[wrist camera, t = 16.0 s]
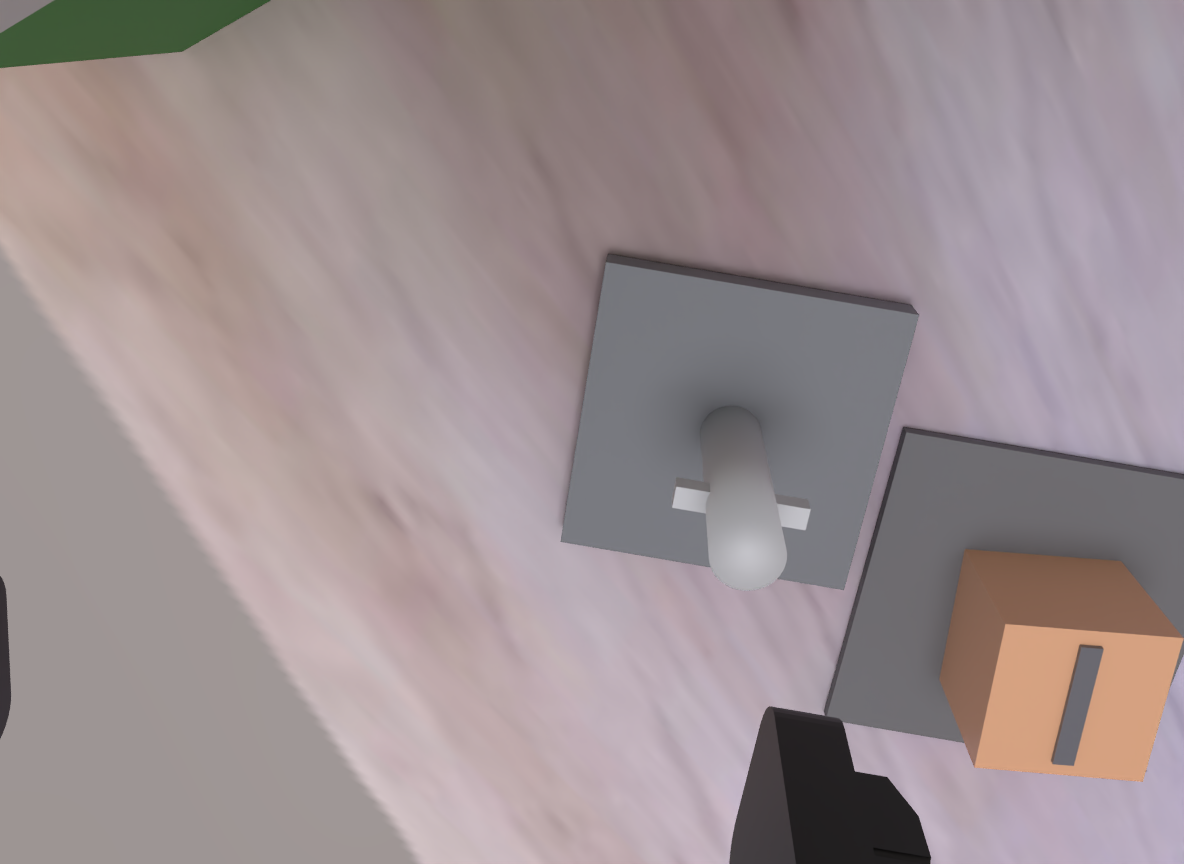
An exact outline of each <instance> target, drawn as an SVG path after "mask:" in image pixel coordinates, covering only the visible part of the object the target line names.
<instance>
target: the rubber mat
mask: <svg viewBox="0 0 1184 864" xmlns="http://www.w3.org/2000/svg"><path fill="white" fill-rule="evenodd" d="M965 549H970V550H983V551H996V552H1009V553H1022V554H1035V555H1049V556H1062V557H1075V558H1088V559H1101V560H1114V561H1121V562H1122V563H1123V564H1124V565H1125V567H1126V568H1127V569H1128V570H1129V572H1130V573H1131V574H1132V575H1133V576H1134V578H1135V579H1136V580H1137V581H1138V583H1139V584H1140V585H1141V586H1142V588H1143V589H1144V590H1145V591H1146V592H1147V594H1148V595H1149V596H1150V597H1151V599H1152V600H1153V601H1154V602H1155V604H1156V605H1157V606H1158V607H1159V608H1160V610H1161V611H1162V612H1163V613H1164V615H1165V616H1166V617H1167V618H1168V619H1169V621H1170V622H1171V623H1172V624H1173V626H1174V627H1175V628H1176V629H1177V631H1178V632H1179V633H1180V634H1181V635H1182V637H1183V638H1184V475H1183V474H1177V473H1171V472H1166V471H1160V470H1154V469H1148V468H1142V467H1136V466H1130V465H1124V464H1118V463H1112V462H1107V461H1101V460H1095V459H1089V458H1083V457H1077V456H1071V455H1065V454H1059V453H1053V452H1048V451H1042V450H1036V449H1030V448H1024V447H1018V446H1012V445H1006V444H1000V443H994V442H989V441H983V440H977V439H971V438H965V437H959V436H953V435H947V434H941V433H935V432H929V431H924V430H918V429H912V428H906V427H903V431H902V434H901V438H900V441H899V445H898V449H897V452H896V456H895V459H894V463H893V467H892V470H891V474H890V477H889V481H888V484H887V488H886V492H885V495H884V499H883V502H882V506H881V510H880V513H879V517H878V520H877V524H876V527H875V531H874V535H873V538H872V542H871V545H870V549H869V553H868V556H867V560H866V563H865V567H864V570H863V574H862V578H861V581H860V585H859V588H858V592H857V596H856V599H855V603H854V606H853V610H852V613H851V617H850V621H849V624H848V628H847V631H846V635H845V638H844V642H843V646H842V649H841V653H840V656H839V660H838V664H837V667H836V671H835V674H834V678H833V681H832V685H831V689H830V692H829V696H828V699H827V703H826V707H825V710H824V713H825V716H829V717H835V718H839V719H840V720H841V721H842V722H846V723H851V724H857V725H863V726H869V727H875V728H881V729H886V730H892V731H898V732H904V733H910V734H916V735H921V736H927V737H933V738H939V739H945V740H951V741H956V742H962V743H964V740H963V738H962V735H961V733H960V730H959V728H958V725H957V723H956V720H955V718H954V715H953V713H952V710H951V708H950V705H949V703H948V700H947V698H946V695H945V692H944V690H943V687H942V685H941V682H940V680H939V678H940V673H941V668H942V663H943V658H944V653H945V648H946V643H947V637H948V632H949V627H950V622H951V617H952V612H953V607H954V602H955V597H956V591H957V586H958V581H959V576H960V571H961V566H962V561H963V556H964V551H965ZM1183 655H1184V639H1183V642H1182V646H1181V649H1180V653H1179V656H1178V660H1177V663H1176V667H1175V670H1174V674H1173V677H1172V681H1173V679H1174V676H1175V674H1176V671H1177V669H1178V667H1179V664H1180V662H1181V659H1182V657H1183ZM1172 681H1171V683H1172ZM1170 686H1171V684H1170Z"/></svg>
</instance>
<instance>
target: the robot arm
mask: <svg viewBox="0 0 1184 864" xmlns="http://www.w3.org/2000/svg"><path fill="white" fill-rule="evenodd" d="M6 600H7V599H6V589H5V585H4V582H3V580H2V578H1V577H0V738H1V736H2V734H3V731H4V728H5V726H6V722H7V719H8V715H9V710H10V703H11V684H10V663H9V642H8V622H7V621H8V620H7V601H6ZM930 860H931V856H930V852H929V849H928V846H927V843H926V839H925V836H924V833H923V829H922V826H921V823H920V820H919V816H918V815H917V814H916V812H915V811H914V810H913V809H912V807H911V806H910V805H909V804H908V802H907V801H906V800H905V799H904V798H903V796H902V795H901V794H900V793H899V791H898V790H897V789H896V788H895V786H894V785H893V784H892V783H891V781H890V780H889V779H888V778H887V777H883V776H878V775H872V774H866V773H860V772H855V771H854V766H853V762H852V758H851V754H850V750H849V746H848V741H847V737H846V733H845V729H844V726H843V723H842V721H841V720H840V719H839V718H835V717H829V716H823V715H817V714H811V713H806V712H800V711H794V710H788V709H782V708H776V707H770V706H769V707H768V708H767V709H766V711H765V713H764V715H763V718H762V721H761V724H760V728H759V732H758V736H757V740H756V744H755V748H754V752H753V756H752V759H751V763H750V767H749V771H748V775H747V779H746V783H745V787H744V791H743V795H742V799H741V803H740V807H739V810H738V814H737V818H736V822H735V827H734V832H733V838H732V844H731V852H730V863H729V864H930Z"/></svg>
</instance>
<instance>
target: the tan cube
mask: <svg viewBox="0 0 1184 864" xmlns="http://www.w3.org/2000/svg"><path fill="white" fill-rule="evenodd" d="M1183 639H1184V638H1183V637H1182V635H1181V634H1180V633H1179V632H1178V631H1177V629H1176V628H1175V627H1174V626H1173V624H1172V623H1171V622H1170V621H1169V619H1168V618H1167V617H1166V616H1165V615H1164V613H1163V612H1162V611H1161V610H1160V608H1159V607H1158V606H1157V605H1156V604H1155V602H1154V601H1153V600H1152V599H1151V597H1150V596H1149V595H1148V594H1147V592H1146V591H1145V590H1144V589H1143V588H1142V586H1141V585H1140V584H1139V583H1138V581H1137V580H1136V579H1135V578H1134V576H1133V575H1132V574H1131V573H1130V572H1129V570H1128V569H1127V568H1126V567H1125V565H1124V564H1123V563H1122V562H1121V561H1114V560H1101V559H1088V558H1075V557H1062V556H1049V555H1035V554H1022V553H1009V552H996V551H983V550H970V549H965V551H964V556H963V561H962V566H961V571H960V576H959V581H958V586H957V591H956V597H955V602H954V607H953V612H952V617H951V622H950V627H949V632H948V637H947V643H946V648H945V653H944V658H943V663H942V668H941V673H940V678H939V680H940V682H941V685H942V687H943V690H944V692H945V695H946V698H947V700H948V703H949V705H950V708H951V710H952V713H953V715H954V718H955V720H956V723H957V725H958V728H959V730H960V733H961V735H962V738H963V740H964V743H965V745H966V748H967V750H968V753H969V755H970V758H971V760H972V763H973V765H974V767H975V768H987V769H999V770H1011V771H1022V772H1034V773H1046V774H1058V775H1069V776H1081V777H1093V778H1105V779H1117V780H1128V781H1140V782H1143V779H1144V775H1145V772H1146V768H1147V765H1148V761H1149V758H1150V754H1151V751H1152V747H1153V744H1154V740H1155V737H1156V733H1157V730H1158V726H1159V723H1160V719H1161V716H1162V712H1163V709H1164V705H1165V702H1166V698H1167V695H1168V691H1169V688H1170V684H1171V681H1172V677H1173V674H1174V670H1175V667H1176V663H1177V660H1178V656H1179V653H1180V649H1181V646H1182V642H1183Z"/></svg>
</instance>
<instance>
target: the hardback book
mask: <svg viewBox="0 0 1184 864" xmlns="http://www.w3.org/2000/svg"><path fill="white" fill-rule="evenodd" d="M269 1H270V0H0V68H5V67H16V66H27V65H38V64H49V63H60V62H72V61H83V60H94V59H105V58H116V57H127V56H138V55H150V54H161V53H172V52H182V51H184V50H186V49H187V48H189V47H191V46H192V45H194V44H196V43H198V42H199V41H201V40H203V39H205V38H206V37H208V36H210V35H212V34H213V33H215V32H217V31H218V30H220V29H222V28H224V27H225V26H227V25H229V24H231V23H232V22H234V21H236V20H237V19H239V18H241V17H243V16H244V15H246V14H248V13H250V12H251V11H253V10H255V9H257V8H258V7H260V6H262V5H263V4H265V3H267V2H269Z"/></svg>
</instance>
